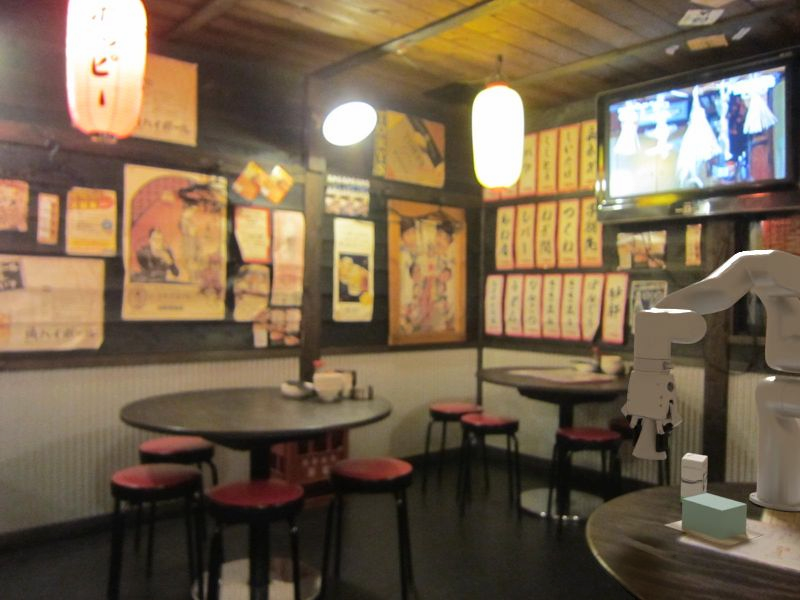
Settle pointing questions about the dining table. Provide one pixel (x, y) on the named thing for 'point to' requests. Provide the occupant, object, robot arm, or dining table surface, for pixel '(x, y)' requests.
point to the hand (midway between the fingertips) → (649, 447)
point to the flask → (648, 442)
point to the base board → (725, 542)
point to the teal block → (714, 516)
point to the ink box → (693, 475)
